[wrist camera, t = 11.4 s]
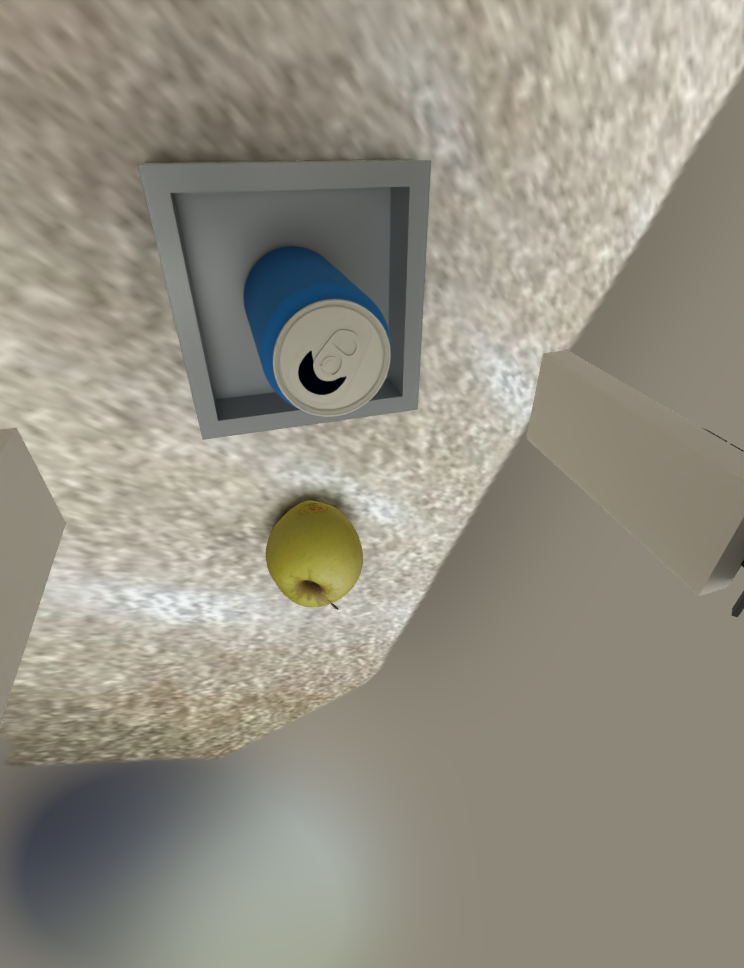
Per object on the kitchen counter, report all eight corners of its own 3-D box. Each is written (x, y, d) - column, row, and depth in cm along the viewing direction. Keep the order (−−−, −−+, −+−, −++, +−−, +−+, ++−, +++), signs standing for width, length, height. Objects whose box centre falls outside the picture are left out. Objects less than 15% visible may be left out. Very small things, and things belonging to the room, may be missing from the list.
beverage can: (222, 307, 31) (234, 378, 22) (281, 220, 29) (323, 256, 20) (302, 364, 35) (342, 446, 25) (359, 289, 33) (425, 347, 23)
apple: (364, 483, 42) (388, 588, 36) (338, 534, 47) (356, 632, 41) (271, 477, 39) (281, 590, 33) (256, 533, 44) (262, 638, 38)
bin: (144, 162, 26) (137, 164, 23) (406, 159, 30) (431, 160, 27) (202, 413, 35) (202, 439, 32) (399, 388, 39) (417, 409, 35)
